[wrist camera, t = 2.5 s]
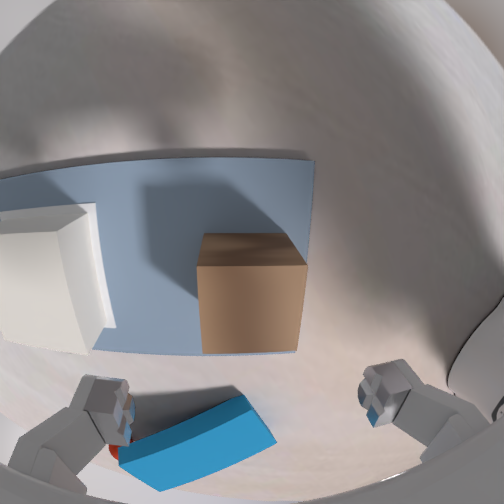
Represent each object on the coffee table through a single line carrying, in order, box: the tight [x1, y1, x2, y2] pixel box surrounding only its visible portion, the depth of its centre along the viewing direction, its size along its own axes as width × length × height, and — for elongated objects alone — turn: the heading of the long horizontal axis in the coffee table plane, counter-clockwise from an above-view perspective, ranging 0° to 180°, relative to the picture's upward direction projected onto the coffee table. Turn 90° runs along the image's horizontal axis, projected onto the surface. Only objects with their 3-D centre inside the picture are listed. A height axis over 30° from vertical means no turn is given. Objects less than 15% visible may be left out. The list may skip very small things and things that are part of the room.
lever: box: [109, 395, 277, 492], centre depth 24 cm, size 7×7×18 cm
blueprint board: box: [0, 157, 315, 356], centre depth 18 cm, size 24×14×1 cm, turn 88°
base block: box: [0, 213, 107, 356], centre depth 15 cm, size 8×8×4 cm
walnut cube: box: [197, 233, 308, 354], centre depth 16 cm, size 5×5×5 cm
